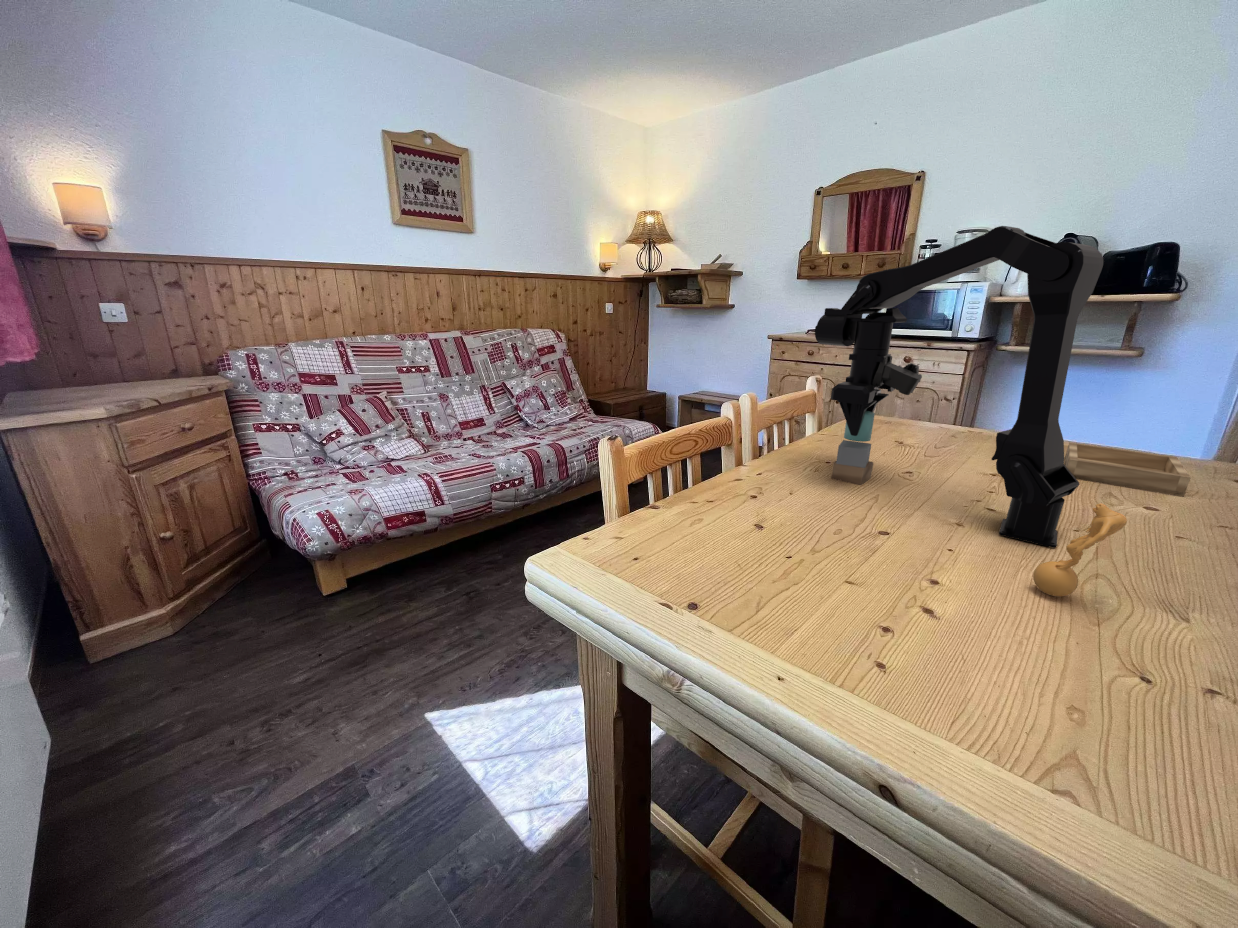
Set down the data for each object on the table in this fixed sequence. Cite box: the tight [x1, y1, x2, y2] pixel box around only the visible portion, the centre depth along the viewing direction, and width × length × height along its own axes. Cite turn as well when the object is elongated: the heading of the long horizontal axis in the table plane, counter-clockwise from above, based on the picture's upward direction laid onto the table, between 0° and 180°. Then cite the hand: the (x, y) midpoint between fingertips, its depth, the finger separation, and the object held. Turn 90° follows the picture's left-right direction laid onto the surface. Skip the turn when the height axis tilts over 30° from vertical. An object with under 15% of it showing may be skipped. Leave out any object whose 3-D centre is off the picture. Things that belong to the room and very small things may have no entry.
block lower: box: [830, 460, 874, 486], centre depth 96 cm, size 6×6×4 cm
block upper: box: [835, 439, 872, 468], centre depth 95 cm, size 5×5×4 cm
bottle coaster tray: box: [1064, 442, 1192, 497], centre depth 98 cm, size 16×16×4 cm
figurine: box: [1032, 502, 1128, 597], centre depth 56 cm, size 8×6×12 cm
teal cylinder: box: [843, 411, 876, 443], centre depth 94 cm, size 5×5×5 cm
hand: (858, 433), depth 94 cm, fingers closed on teal cylinder, 4 cm apart
